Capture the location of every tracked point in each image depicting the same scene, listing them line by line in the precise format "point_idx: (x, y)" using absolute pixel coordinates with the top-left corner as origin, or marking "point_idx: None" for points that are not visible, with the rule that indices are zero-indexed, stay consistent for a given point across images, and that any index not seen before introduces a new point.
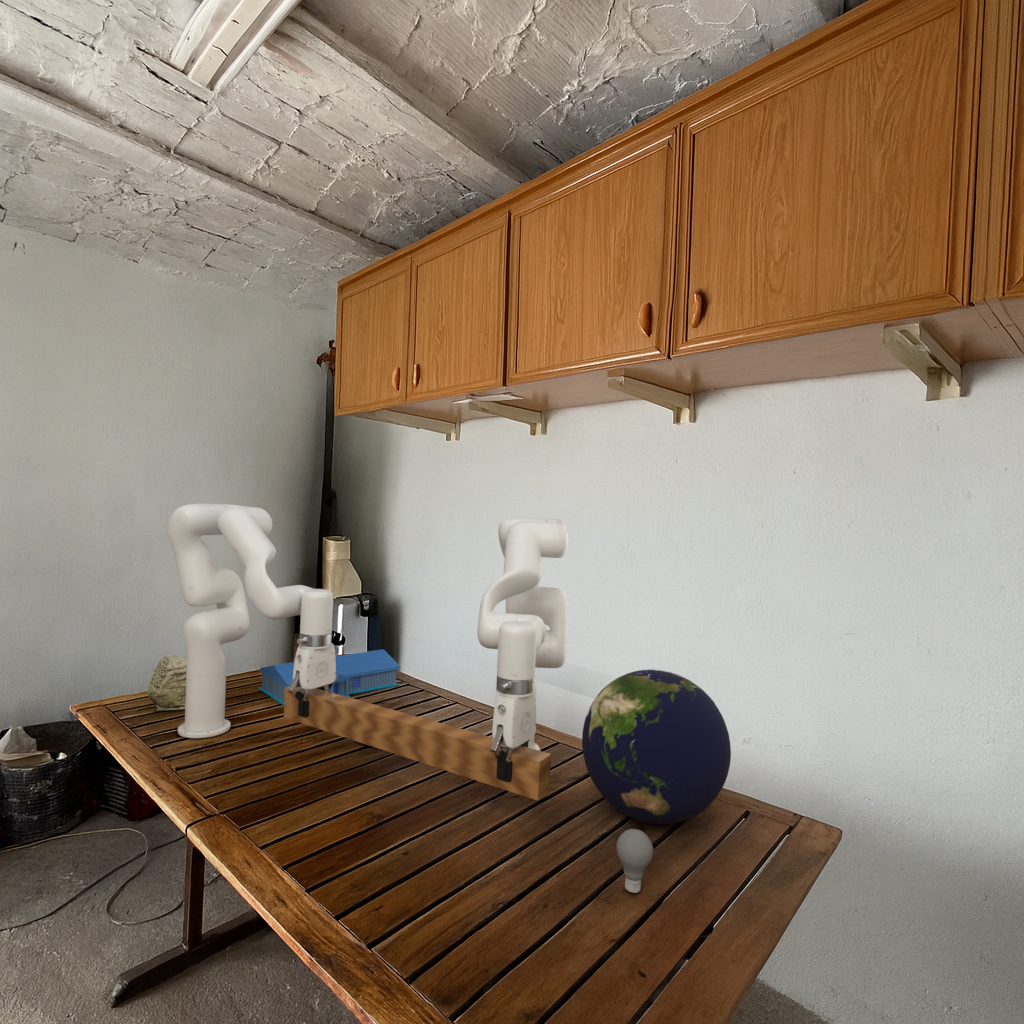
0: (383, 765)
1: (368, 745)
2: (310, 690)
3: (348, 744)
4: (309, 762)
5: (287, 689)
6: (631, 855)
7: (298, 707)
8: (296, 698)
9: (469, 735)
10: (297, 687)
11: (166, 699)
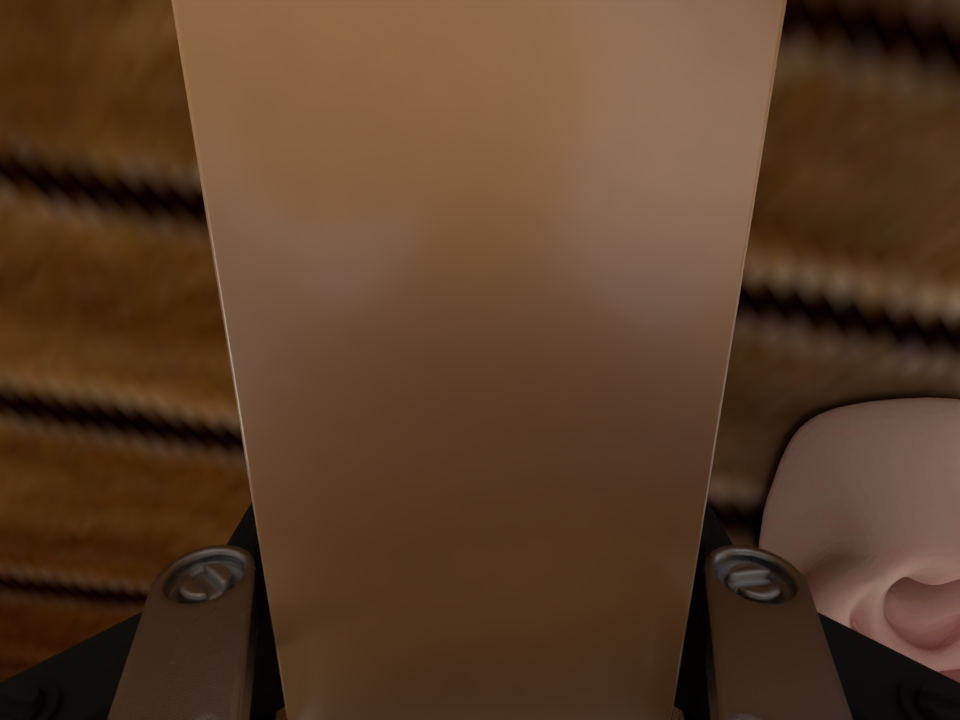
0: None
1: (761, 530)
2: (493, 642)
3: (726, 414)
4: None
5: (201, 128)
6: None
7: (252, 510)
8: (172, 569)
9: None
10: (452, 268)
11: None
